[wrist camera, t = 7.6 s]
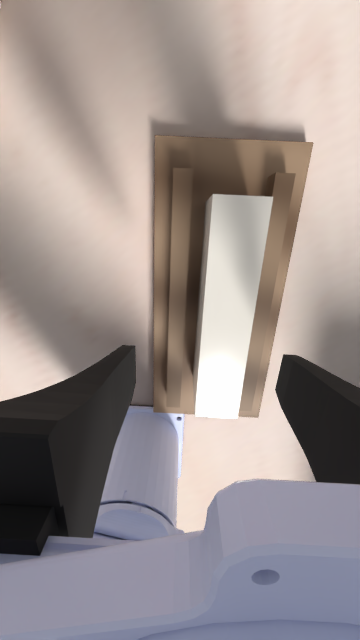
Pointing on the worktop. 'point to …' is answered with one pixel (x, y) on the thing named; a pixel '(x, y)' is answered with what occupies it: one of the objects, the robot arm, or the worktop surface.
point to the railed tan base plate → (186, 250)
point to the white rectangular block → (227, 299)
